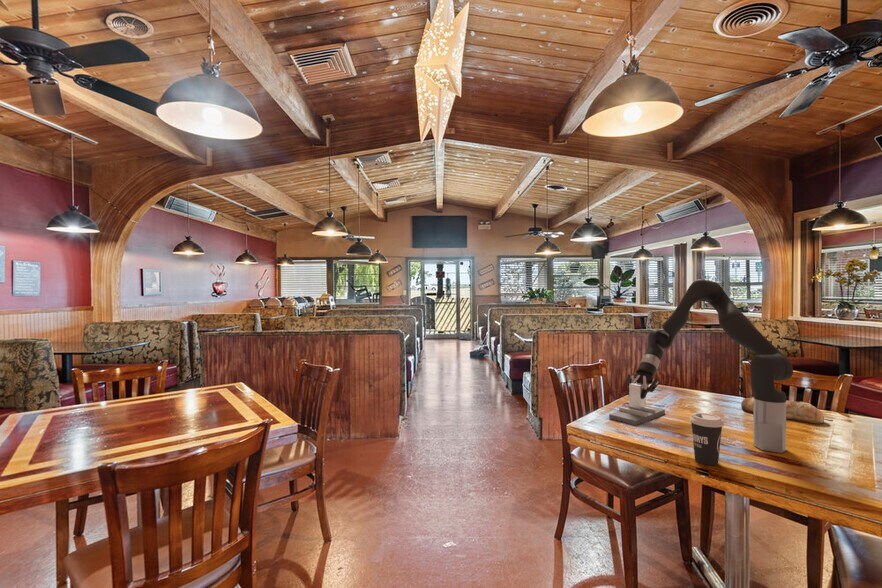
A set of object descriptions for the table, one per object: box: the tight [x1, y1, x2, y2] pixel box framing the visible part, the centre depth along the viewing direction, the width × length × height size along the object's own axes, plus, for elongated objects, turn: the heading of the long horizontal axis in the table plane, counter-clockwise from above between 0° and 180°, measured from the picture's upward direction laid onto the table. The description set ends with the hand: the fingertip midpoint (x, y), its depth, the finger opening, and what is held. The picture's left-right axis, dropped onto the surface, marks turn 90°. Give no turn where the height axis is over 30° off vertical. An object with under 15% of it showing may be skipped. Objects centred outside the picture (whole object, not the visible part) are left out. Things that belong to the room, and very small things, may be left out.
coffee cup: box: [689, 412, 725, 467], centre depth 139 cm, size 10×10×15 cm
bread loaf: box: [740, 396, 834, 424], centre depth 188 cm, size 35×18×9 cm, turn 51°
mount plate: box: [608, 405, 666, 426], centre depth 189 cm, size 12×26×4 cm, turn 128°
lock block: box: [628, 382, 647, 409], centre depth 189 cm, size 5×5×10 cm
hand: (635, 396), depth 188 cm, fingers closed on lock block, 5 cm apart
